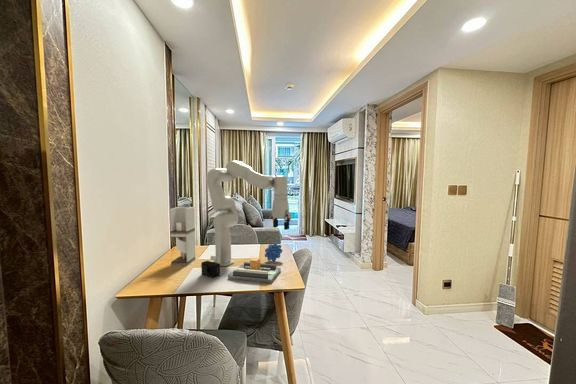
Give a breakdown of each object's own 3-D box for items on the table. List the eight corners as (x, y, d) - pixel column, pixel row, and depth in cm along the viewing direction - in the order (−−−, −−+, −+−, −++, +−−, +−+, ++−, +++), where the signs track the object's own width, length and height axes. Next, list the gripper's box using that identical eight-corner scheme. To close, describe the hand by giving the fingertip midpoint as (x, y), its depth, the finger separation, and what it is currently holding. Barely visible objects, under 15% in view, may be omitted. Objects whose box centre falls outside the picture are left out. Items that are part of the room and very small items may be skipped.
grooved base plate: (232, 275, 136) (232, 269, 136) (245, 265, 151) (245, 259, 151) (266, 278, 131) (266, 272, 131) (276, 268, 146) (276, 262, 146)
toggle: (248, 272, 139) (248, 260, 139) (251, 269, 144) (251, 257, 144) (258, 273, 138) (258, 260, 138) (262, 269, 143) (261, 258, 142)
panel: (227, 279, 135) (227, 273, 135) (242, 267, 153) (242, 262, 153) (270, 283, 130) (270, 277, 129) (280, 271, 147) (280, 266, 147)
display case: (179, 259, 170) (178, 206, 168) (195, 259, 169) (194, 206, 168) (171, 265, 158) (169, 208, 157) (188, 265, 158) (187, 208, 157)
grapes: (282, 258, 171) (282, 241, 170) (282, 262, 164) (282, 243, 163) (264, 259, 170) (264, 241, 169) (264, 262, 163) (264, 243, 163)
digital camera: (199, 275, 141) (199, 262, 141) (207, 272, 146) (207, 260, 145) (212, 279, 135) (211, 266, 135) (220, 276, 140) (219, 263, 140)
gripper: (266, 197, 147) (266, 227, 148) (285, 198, 134) (285, 231, 135) (276, 196, 152) (276, 225, 153) (296, 198, 139) (296, 229, 140)
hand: (281, 228), depth 144 cm, fingers open, 9 cm apart
